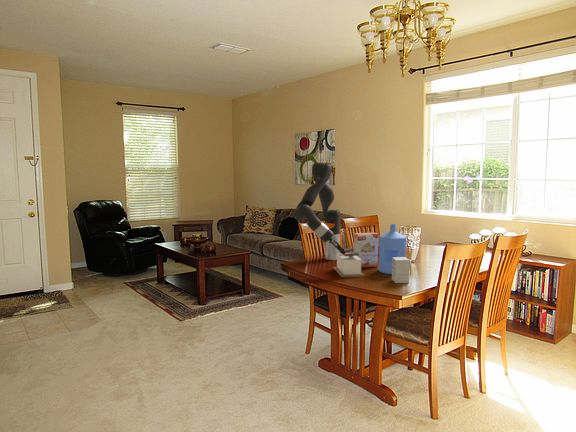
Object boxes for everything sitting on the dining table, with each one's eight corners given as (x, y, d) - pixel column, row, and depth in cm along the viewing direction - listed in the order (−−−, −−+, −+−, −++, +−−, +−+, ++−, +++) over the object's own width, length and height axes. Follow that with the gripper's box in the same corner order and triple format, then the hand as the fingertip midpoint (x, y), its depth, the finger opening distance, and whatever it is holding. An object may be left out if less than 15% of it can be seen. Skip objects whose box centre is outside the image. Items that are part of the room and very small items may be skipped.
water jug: (373, 269, 252) (374, 223, 249) (395, 267, 258) (396, 222, 255) (388, 275, 238) (389, 226, 235) (411, 273, 243) (412, 225, 240)
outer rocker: (343, 256, 241) (343, 252, 240) (357, 255, 241) (357, 251, 241) (345, 258, 237) (344, 254, 236) (358, 257, 237) (358, 253, 237)
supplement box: (404, 279, 230) (405, 256, 228) (409, 283, 222) (409, 259, 221) (391, 279, 229) (392, 256, 228) (395, 283, 222) (396, 259, 221)
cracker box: (357, 268, 256) (357, 234, 254) (353, 266, 262) (353, 233, 259) (378, 266, 260) (378, 233, 257) (373, 264, 265) (374, 232, 263)
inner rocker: (339, 254, 252) (338, 250, 251) (352, 251, 252) (351, 247, 252) (341, 255, 248) (340, 251, 247) (354, 252, 248) (353, 248, 248)
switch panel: (334, 268, 255) (334, 250, 254) (355, 268, 257) (355, 250, 255) (341, 277, 235) (341, 257, 233) (364, 276, 236) (364, 257, 235)
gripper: (330, 228, 229) (352, 250, 232) (325, 226, 243) (346, 246, 245) (320, 238, 230) (342, 260, 232) (316, 235, 243) (337, 255, 245)
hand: (344, 253), depth 238 cm, fingers closed
